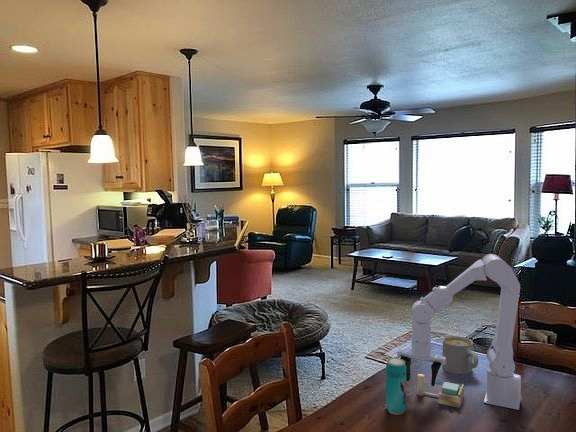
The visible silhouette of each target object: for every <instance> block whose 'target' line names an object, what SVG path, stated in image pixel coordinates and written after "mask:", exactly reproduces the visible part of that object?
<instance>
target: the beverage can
mask: <svg viewBox="0 0 576 432" xmlns="http://www.w3.org/2000/svg"><path fill="white" fill-rule="evenodd" d="M385 405H386V406H385V407H386V409H387V411H388V413H390V414H392V415H393V416H394V415H395V416H401V415H403V414H404V412H405V411H406V408H407V381H406V365H405V361H404V360H403V359H400V357H398V358H397V357H391V358H388V359H387V360H386V365H385Z"/></svg>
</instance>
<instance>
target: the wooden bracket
mask: <svg viewBox="0 0 576 432" xmlns="http://www.w3.org/2000/svg"><path fill="white" fill-rule="evenodd" d="M438 395H439V397H437V398H438V401H437V402H438V404H441V405H444V406H449V407H455V408H461V405H462V403H463V401H464V398H465V397H464V396H465V385H464V383H462V384H461V386H459V393H458V396H454V395H449V394H444V393H442V392H438Z"/></svg>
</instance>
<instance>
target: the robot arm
mask: <svg viewBox="0 0 576 432" xmlns="http://www.w3.org/2000/svg"><path fill="white" fill-rule="evenodd" d="M486 277H487V278H489V279H490V280H492V281H493V282H495V283H497V285H498V286H499V287H500V295H499V302H498V309H497V314H496V315H497V316H496V324H495V328H494V329H495V330H494V337H493V338H492V340H491V344H490V346H489V348H488V349H487V351H486V358H487V360H488V362H489V365H488V367H487V369H486V393H485V395H484V396H485V397H484V400H483V403H484V404H487V405H493V406H497V407H502V408H507V409H512V410H516V411H517V410H520V405H521V401H522V394H521V392H522V391H521V387H522V384H521V383H522V381H521V380H522V375H519V374H517V373H514V372H515V369H516V364H515V361H514V349H513V339H514V333H515V328H516V327H515V326H516V320H517V313H518V308H519V307H518V306H519V298H520V293H521V292H520V290H521V284H520V282H519V279H518V278H517V276H516V274H515V273H514V270H513V268H512V267H511V266H510V265H509V264H508V263H507V262H506V261H505V260H503V259H502V258H501V257H500V256H499V255H497V254H494V253H488V254H486V255H484V256H483V257H482V258H480V259H478V260H476V261H475V262H473V264H471V265H470V266H469V267H468V268H467V269H465V270H464V271H463V272H461V273H460V274H459V275H458V276H456V277H455V278H454V279H453V280H452V281H451V282H450V283H449V284H447V285H438V287H436V286H434V287H432V291H430V292H429V293H428V294H427V295H425V296H424V297H423V296H421V297H420V299H419V300H417V301H415V302H414V303H413V304H412V307H411V308H410V309H411V315H412V319H411V322H412V324H411V349H401V348H399V349H397V352H396V358H397V357H398V358H399V359H403V360H404V361H405V365H406V382H410V380H411V364H412V363H411V362H412V359H413V360H418V361H424V362H429V363H432V364H431V366H430V369H431V371H430V372H431V384H430V385H431V387H435V384H436V380H437V377H438V373H439V371H440V370H441V369H440V368H441V367H442V365H445V363H446V357H443V355H440V354H437V353H433V352H431V350H432V349H431V348H432V342H431V341H432V327H431V320H432V319H433V316H434V314H436V313H439V312H440V311H441V310H442V309H443V308H445V307H446V306H447V305H449V304H450V303H451V302H453V300H454V299H453V298H454V295H456V294H457V293H458V292H461V290H464V289H465V288H466V287H468V286H469V285H471V284H472V283H474V282H475V281H487V278H486Z"/></svg>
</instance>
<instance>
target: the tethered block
mask: <svg viewBox="0 0 576 432" xmlns="http://www.w3.org/2000/svg"><path fill="white" fill-rule="evenodd" d="M416 376H417V378H416V379H417V380H416V381H417V382H416V387H417V388H416V389H417V390H416V395H418V396H422V397H423V396H431V397H436V398H438V397H439V394H436V393H431V392H427V391H425V385H426V384H425V380H426V379H425V377H426V376H425V374H423V373H418V374H416ZM459 387H460V384H458V383H452V382H448V381H447V382H446V381H444V382H443V384H442V386H441V393H444V394H449V395H454V396H458V393H459Z"/></svg>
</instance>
